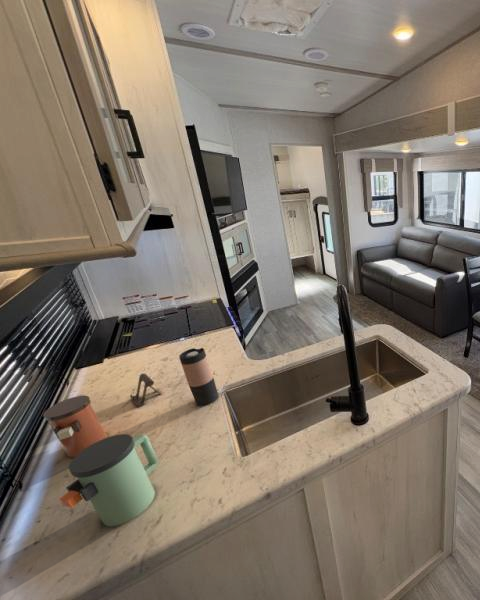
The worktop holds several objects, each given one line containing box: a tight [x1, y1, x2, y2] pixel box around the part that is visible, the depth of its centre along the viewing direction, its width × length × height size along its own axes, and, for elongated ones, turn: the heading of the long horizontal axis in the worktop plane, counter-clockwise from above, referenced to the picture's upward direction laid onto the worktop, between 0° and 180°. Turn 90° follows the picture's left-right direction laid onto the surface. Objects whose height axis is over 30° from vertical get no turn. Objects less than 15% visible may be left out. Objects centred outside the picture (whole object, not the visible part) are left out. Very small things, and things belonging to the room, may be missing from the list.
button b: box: [56, 427, 74, 440], centre depth 86 cm, size 2×2×2 cm
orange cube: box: [59, 490, 84, 509], centre depth 64 cm, size 2×2×2 cm
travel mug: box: [178, 347, 219, 407], centre depth 110 cm, size 8×8×20 cm
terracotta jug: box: [42, 395, 108, 458], centre depth 93 cm, size 14×10×15 cm
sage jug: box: [65, 433, 159, 527], centre depth 73 cm, size 16×11×17 cm
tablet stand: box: [129, 373, 162, 408], centre depth 115 cm, size 9×8×8 cm
